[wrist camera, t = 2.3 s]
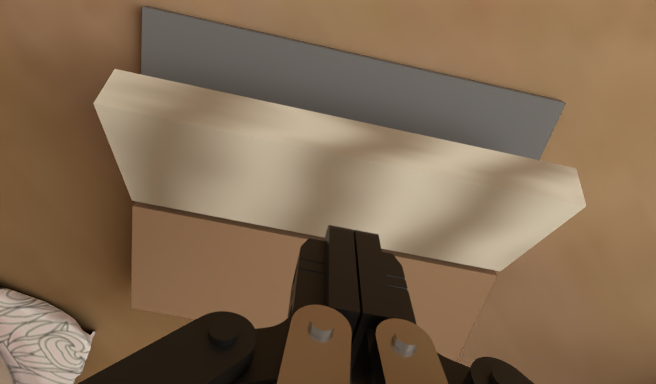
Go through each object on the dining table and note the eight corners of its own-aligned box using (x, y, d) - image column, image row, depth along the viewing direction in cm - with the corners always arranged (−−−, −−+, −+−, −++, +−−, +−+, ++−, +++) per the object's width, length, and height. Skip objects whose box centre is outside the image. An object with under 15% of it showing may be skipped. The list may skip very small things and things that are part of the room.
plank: (575, 168, 19) (586, 206, 17) (496, 239, 24) (500, 271, 23) (114, 68, 17) (93, 103, 16) (146, 169, 23) (132, 200, 22)
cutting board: (560, 100, 22) (587, 113, 19) (449, 340, 29) (459, 371, 27) (147, 6, 20) (122, 8, 18) (140, 285, 27) (122, 313, 25)
